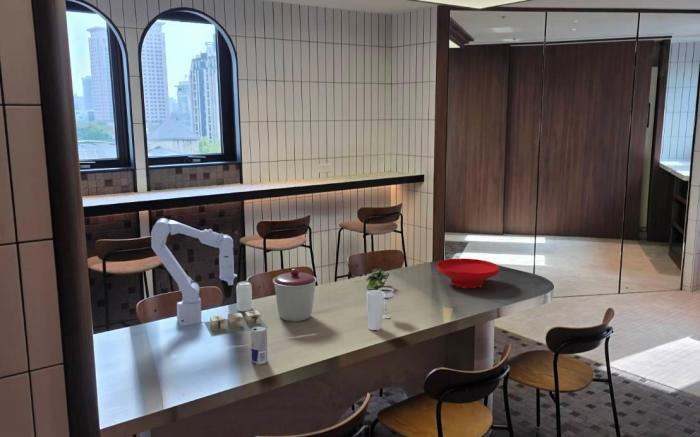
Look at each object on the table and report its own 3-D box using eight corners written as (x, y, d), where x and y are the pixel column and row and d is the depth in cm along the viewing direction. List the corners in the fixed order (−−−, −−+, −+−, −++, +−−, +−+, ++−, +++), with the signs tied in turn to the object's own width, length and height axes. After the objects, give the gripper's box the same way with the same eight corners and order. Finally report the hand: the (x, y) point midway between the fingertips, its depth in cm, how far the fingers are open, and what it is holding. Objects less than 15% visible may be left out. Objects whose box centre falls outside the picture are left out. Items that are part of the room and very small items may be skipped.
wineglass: (395, 315, 238) (396, 288, 236) (389, 320, 232) (390, 293, 230) (380, 313, 241) (381, 286, 239) (374, 318, 235) (375, 290, 232)
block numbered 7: (248, 325, 224) (248, 315, 223) (245, 321, 229) (245, 311, 228) (260, 323, 226) (260, 314, 225) (257, 319, 231) (257, 310, 230)
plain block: (230, 328, 221) (230, 318, 221) (228, 323, 226) (227, 314, 225) (243, 326, 223) (243, 316, 223) (240, 322, 228) (240, 312, 227)
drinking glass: (385, 326, 225) (385, 290, 223) (380, 332, 219) (381, 295, 216) (368, 324, 227) (369, 289, 225) (363, 330, 221) (364, 293, 218)
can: (248, 312, 240) (248, 285, 238) (234, 311, 241) (233, 284, 239) (254, 307, 246) (253, 281, 244) (240, 306, 248) (239, 280, 246)
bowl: (504, 293, 269) (505, 273, 267) (440, 293, 269) (441, 273, 267) (489, 276, 299) (490, 257, 297) (432, 275, 299) (433, 257, 297)
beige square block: (212, 330, 218) (212, 320, 218) (210, 326, 223) (210, 316, 222) (225, 328, 220) (225, 318, 220) (223, 324, 225) (222, 314, 224)
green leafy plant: (375, 295, 281) (384, 274, 285) (388, 297, 272) (397, 275, 276) (358, 286, 276) (368, 264, 280) (371, 287, 267) (381, 265, 271)
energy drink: (252, 358, 195) (251, 325, 193) (267, 358, 195) (267, 325, 193) (250, 365, 189) (250, 331, 187) (266, 365, 190) (266, 331, 188)
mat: (211, 337, 213) (211, 336, 213) (204, 323, 227) (204, 322, 227) (268, 329, 222) (268, 327, 222) (257, 316, 236) (257, 314, 236)
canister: (293, 307, 247) (292, 261, 243) (325, 316, 237) (325, 267, 233) (264, 319, 233) (263, 270, 229) (297, 329, 222) (297, 277, 218)
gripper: (240, 268, 223) (241, 301, 226) (232, 260, 236) (233, 291, 239) (222, 270, 220) (223, 303, 223) (215, 261, 233) (216, 293, 236)
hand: (227, 297), depth 231 cm, fingers closed
